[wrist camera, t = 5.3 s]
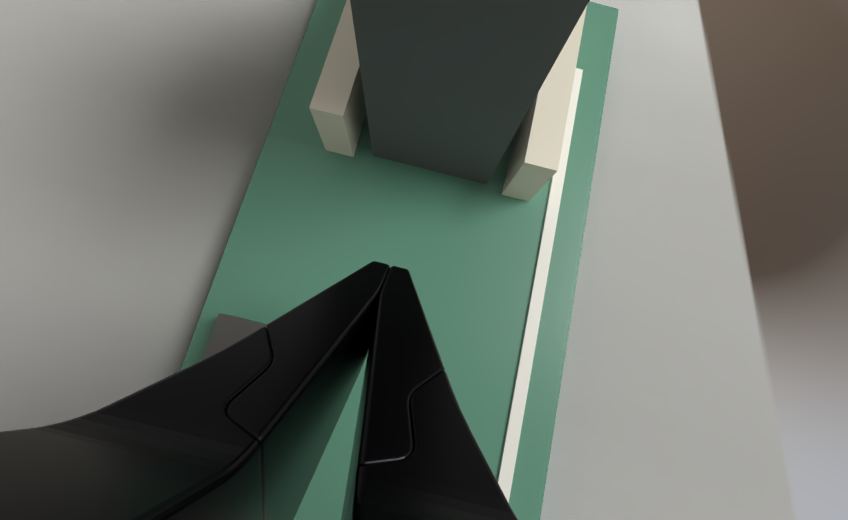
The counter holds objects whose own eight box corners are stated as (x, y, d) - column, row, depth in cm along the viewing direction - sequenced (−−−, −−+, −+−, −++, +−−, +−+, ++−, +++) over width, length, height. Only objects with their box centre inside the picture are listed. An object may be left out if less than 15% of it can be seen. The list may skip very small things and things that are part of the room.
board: (517, 605, 14) (610, 818, 8) (138, 514, 13) (-76, 657, 7) (609, 22, 19) (706, -124, 13) (343, -47, 19) (316, -227, 13)
